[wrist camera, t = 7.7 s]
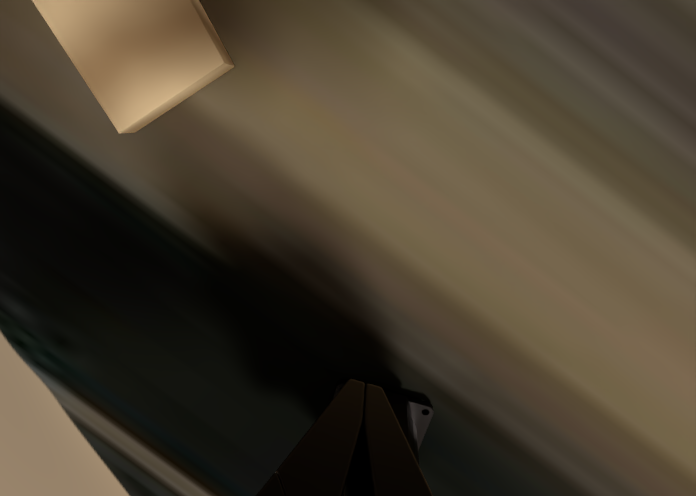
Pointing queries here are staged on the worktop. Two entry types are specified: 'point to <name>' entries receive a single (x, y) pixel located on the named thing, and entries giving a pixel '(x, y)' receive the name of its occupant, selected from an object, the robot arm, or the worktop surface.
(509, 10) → the worktop surface
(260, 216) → the worktop surface
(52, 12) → the track
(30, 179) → the worktop surface
